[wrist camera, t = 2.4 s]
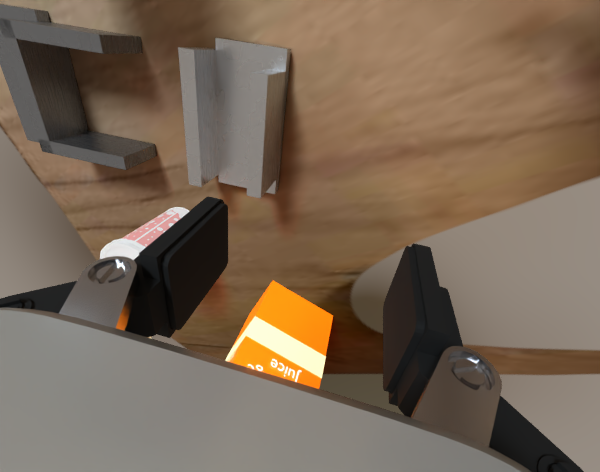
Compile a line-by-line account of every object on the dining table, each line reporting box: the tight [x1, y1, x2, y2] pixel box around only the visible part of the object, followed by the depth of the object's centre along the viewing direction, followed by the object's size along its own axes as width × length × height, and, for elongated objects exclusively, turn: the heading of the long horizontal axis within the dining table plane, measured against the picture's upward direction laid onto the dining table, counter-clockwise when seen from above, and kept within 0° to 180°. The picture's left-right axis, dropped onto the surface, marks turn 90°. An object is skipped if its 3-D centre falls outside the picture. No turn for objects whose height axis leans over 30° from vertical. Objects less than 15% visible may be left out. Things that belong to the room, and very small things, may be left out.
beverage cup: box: [100, 207, 189, 260], centre depth 30 cm, size 6×6×14 cm
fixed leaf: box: [0, 4, 157, 170], centre depth 28 cm, size 15×12×4 cm
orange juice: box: [225, 281, 333, 389], centre depth 31 cm, size 8×9×20 cm
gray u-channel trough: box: [178, 38, 291, 198], centre depth 25 cm, size 7×12×5 cm, turn 172°
